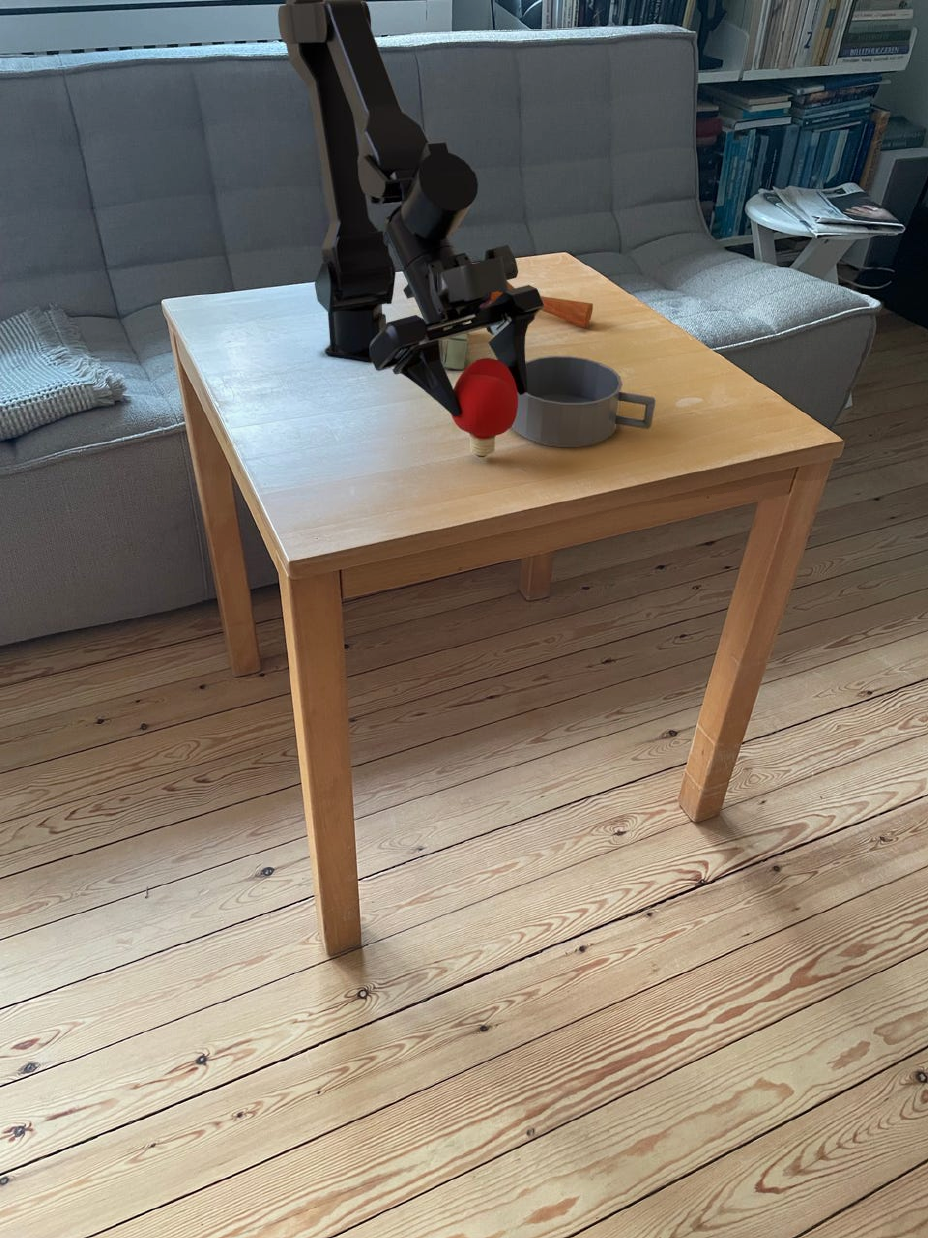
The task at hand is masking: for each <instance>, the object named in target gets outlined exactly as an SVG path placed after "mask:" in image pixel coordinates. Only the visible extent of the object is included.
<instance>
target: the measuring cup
mask: <svg viewBox="0 0 928 1238" xmlns="http://www.w3.org/2000/svg"><path fill="white" fill-rule="evenodd" d="M525 362H526V375H527V387H528V390H527V392H526V393H525V394H523V395H520V394H519V393H518V409H517V415H516V419H515V421H514V423H513V425H512V426H511V428H512V430H513V431H514V432H516V433H517V434H518V435H519V436H521V437H522V438H524V439H526V440H529V441H531V442H534V443H537V444H539V445H543V446H548V447H555V448H582V447H588V446H593V445H595V444H599V443H601V442H603V441H606V440H608V438H610V437H611V436H612V435H613V434H614V432H615V430H616V428H617V426H618V425H619V426H625V427H630V428H631V427H632V428H637V429H643V430H650V429H651V428H652V427H653V421H654V414H655V409H656V403H657V401H656V398H655V397H654V396H650V395H643V394H636V393H632V392H631V393H629V392H626V391H625V392H624V391H623V382H622V378H621V376H620V375H619V373H617V372H616V371H615V370H614V369H613V368H612V367H609V366H607V365H606V364H604V363H602V362H599V361H596V360H593V359H589V358H585V357H584V358H583V357H580V356H579V357H578V356H573V355H547V356H541V357H536V358H531V359H529V360H525ZM621 402H623V403H630V404H636V405H642V406H644V407H645V408H644V414H643V418H637V417H631V416H625V415H619V413H620V405H621Z"/></svg>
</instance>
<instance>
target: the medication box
mask: <svg viewBox="0 0 928 1238" xmlns="http://www.w3.org/2000/svg"><path fill="white" fill-rule="evenodd" d="M464 324H467V323H463V325H464ZM449 329H450V328H449ZM445 330H446V329H445ZM468 343H469V339H468V333H466V334H462V335H459V336H455V337H452V338H448V339H445V340H441V347H442V348H441V350H442V362H443V363H442V365H443V367H444V369H447V370H453V371H464V369H465V363H466V355H467V349H468Z"/></svg>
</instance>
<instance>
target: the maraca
mask: <svg viewBox="0 0 928 1238" xmlns="http://www.w3.org/2000/svg"><path fill="white" fill-rule="evenodd" d="M471 263H472V264H473V263H474V262H471ZM507 283H508V288H509V290H511V289H515V288H516V287H514V286H513V285H512V284H511V283H510V282H509V280H507ZM502 293H503V292H499V291H496V292H493V293H489V294H490V297H491V298H490V299H489V300H488V301H487V302H486V303H483V304H481V305H480V308H485V306H487V305H488V304H490V305H491V304H492V303H493V302H494V301H495V300H496V299H497V298H498V297H499V296H500V295H501V294H502ZM540 296H541V298H542V300H543V303H544V305H545V307H544V308H543V309H542V310H541V311H542V312H544V313H547V314H550V315H551V316H554V317H557V318H559V319H562V320H565V321H566V322H569V323H571V324H574V325H577V326H579V327H581V328H584V329H586V328H587V327H588V325H589V324H590V321H591V319H592V316H593V309H594V304H593V303H591V302H584V301H578V300H571V299H564V298H557V297H549V296H544V295H543V296H542V295H540Z"/></svg>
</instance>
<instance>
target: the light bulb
mask: <svg viewBox="0 0 928 1238" xmlns="http://www.w3.org/2000/svg"><path fill="white" fill-rule="evenodd" d="M453 389H454V392H455V394H456V396H457V398H458V401H459V404H460V407H461V410H462V414H461V415H459V416H458V417H454V416H453V415H452V414H451V413H450V415H451V418H452V421H453V422H454V424H455V425H456V426H457V427H458V428H459V429H460V430H462V431H464V432H465V433H468V434H469V451H470V452H471V453H472V454H474V455H475V456H477V457H478V458H485V457H487V456H489V455H491V454H493V453H494V451H495V444H496V441H495V440H496V436H500V435H502V434H505V433H506V432H507V431H508V430H510V429H511V428H512V427H511V426H512V425H513V423H514V421H515V419H516V415H517V409H518V392H517V387H516V383H515V380H514V378H513V376H512V374H511V372H510V370H509V369H508V367H507V366H506V365H505V364H504V363H502V362H501V361H499V360H498V359H497V358H492V357H491V358H489V357H485V358H484V357H483V358H478V359H476V360H474V361H473V362H471V363H470V364H468V366H467V367H466V368H464V369H463V371H462V373H461V374H460V376H459V378H458V379H457V381H456V383H455V385H454V387H453Z"/></svg>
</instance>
